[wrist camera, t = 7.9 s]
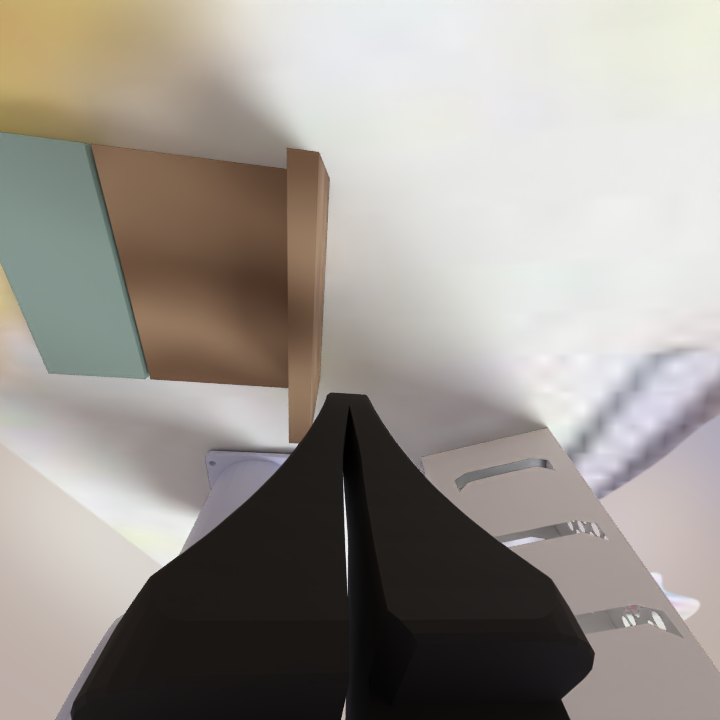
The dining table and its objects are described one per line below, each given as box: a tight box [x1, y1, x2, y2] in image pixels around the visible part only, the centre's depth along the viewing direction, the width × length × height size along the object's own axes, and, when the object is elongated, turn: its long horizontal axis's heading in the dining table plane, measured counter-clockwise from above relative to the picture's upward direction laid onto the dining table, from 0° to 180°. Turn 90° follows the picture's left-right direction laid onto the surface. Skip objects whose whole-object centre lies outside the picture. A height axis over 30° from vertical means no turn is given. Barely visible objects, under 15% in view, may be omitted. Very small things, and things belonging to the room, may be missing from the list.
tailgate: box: [0, 132, 150, 379], centre depth 15 cm, size 12×1×6 cm
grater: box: [421, 428, 720, 720], centre depth 17 cm, size 10×10×20 cm
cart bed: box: [91, 144, 330, 443], centre depth 14 cm, size 12×10×6 cm
